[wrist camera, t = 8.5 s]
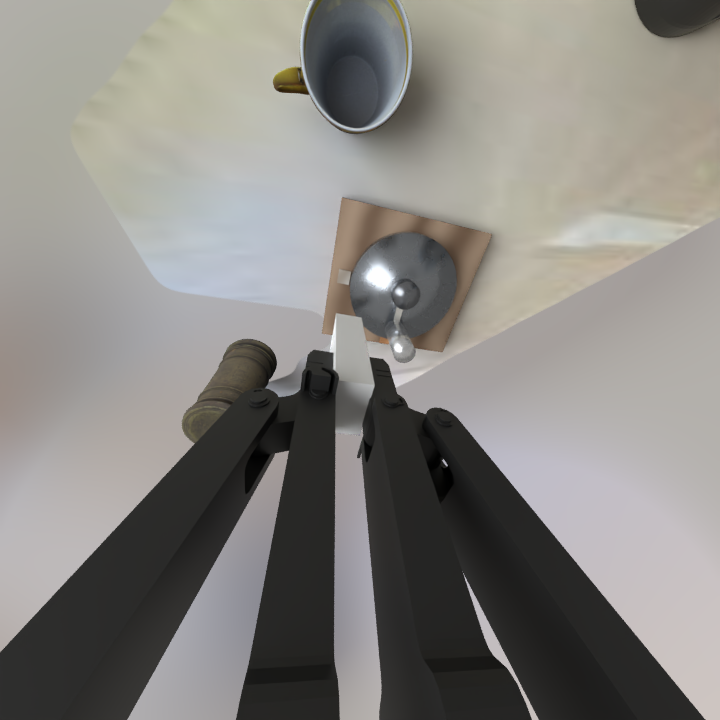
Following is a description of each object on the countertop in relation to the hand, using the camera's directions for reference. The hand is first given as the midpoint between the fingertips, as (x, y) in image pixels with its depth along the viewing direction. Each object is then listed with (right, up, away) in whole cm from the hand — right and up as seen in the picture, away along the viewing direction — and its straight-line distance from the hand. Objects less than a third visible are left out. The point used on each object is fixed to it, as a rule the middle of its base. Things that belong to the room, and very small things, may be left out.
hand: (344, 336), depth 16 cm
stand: (+7, +11, +28) cm, 31 cm away
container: (-19, -1, +34) cm, 39 cm away
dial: (+7, +10, +26) cm, 28 cm away
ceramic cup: (-2, +30, +16) cm, 34 cm away
